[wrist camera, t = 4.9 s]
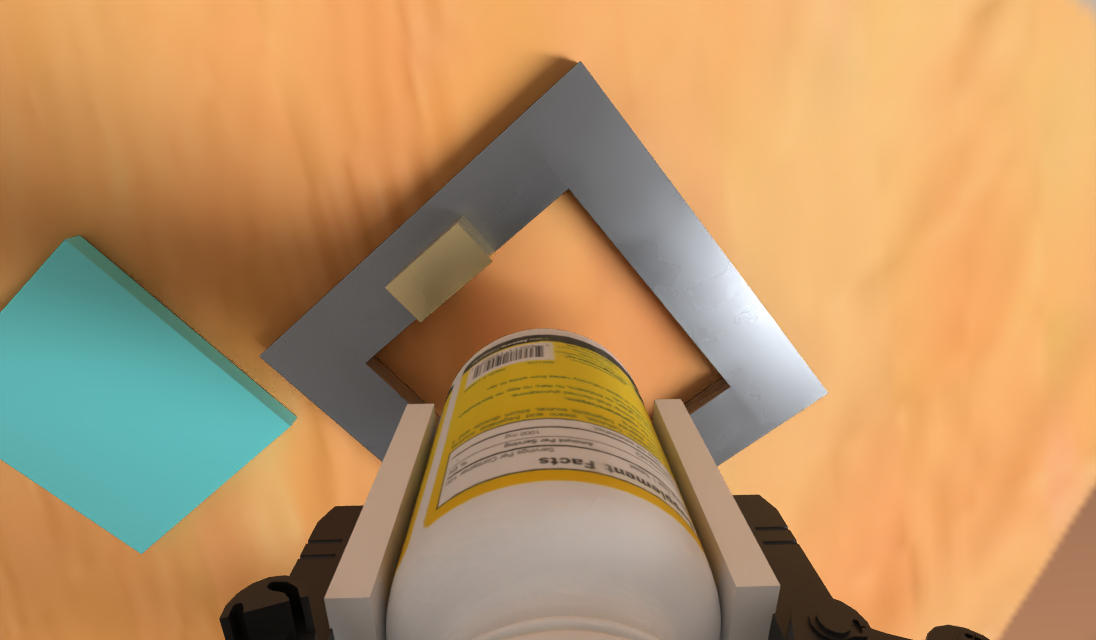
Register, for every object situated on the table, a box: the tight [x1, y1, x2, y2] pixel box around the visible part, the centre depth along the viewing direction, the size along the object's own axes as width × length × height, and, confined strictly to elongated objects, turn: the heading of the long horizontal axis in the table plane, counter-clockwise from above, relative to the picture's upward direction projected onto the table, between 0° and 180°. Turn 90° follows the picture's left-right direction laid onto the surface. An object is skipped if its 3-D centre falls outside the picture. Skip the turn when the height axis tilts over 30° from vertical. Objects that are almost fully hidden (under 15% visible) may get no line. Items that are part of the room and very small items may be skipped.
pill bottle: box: [386, 328, 721, 640], centre depth 12 cm, size 6×6×11 cm
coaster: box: [0, 235, 297, 554], centre depth 20 cm, size 9×9×1 cm
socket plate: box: [259, 61, 828, 466], centre depth 19 cm, size 14×14×2 cm
